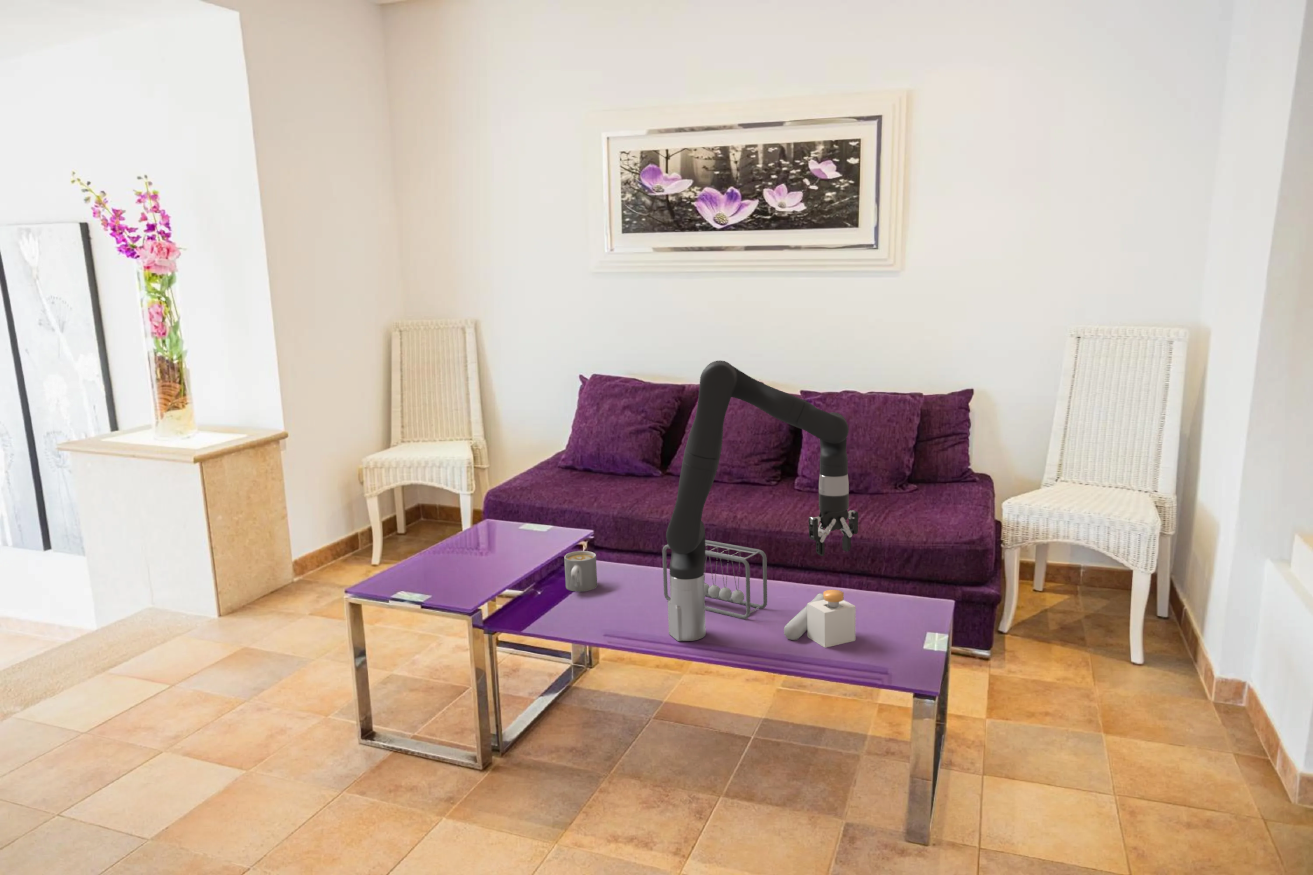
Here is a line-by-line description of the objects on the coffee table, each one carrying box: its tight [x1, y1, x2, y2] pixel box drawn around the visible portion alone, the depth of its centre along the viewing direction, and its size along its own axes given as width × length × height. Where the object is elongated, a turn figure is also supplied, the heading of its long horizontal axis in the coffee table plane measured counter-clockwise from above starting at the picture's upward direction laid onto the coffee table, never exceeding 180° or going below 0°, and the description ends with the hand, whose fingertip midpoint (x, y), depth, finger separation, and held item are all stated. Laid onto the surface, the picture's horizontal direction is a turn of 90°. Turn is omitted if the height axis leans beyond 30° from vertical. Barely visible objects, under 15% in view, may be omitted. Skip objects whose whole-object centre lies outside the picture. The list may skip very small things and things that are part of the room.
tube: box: [783, 593, 824, 641], centre depth 248 cm, size 5×5×25 cm
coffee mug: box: [563, 550, 598, 593], centre depth 283 cm, size 13×10×10 cm
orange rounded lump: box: [822, 589, 845, 608], centre depth 235 cm, size 5×5×4 cm
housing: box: [806, 599, 857, 649], centre depth 237 cm, size 10×8×10 cm
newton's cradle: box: [662, 539, 768, 620], centre depth 264 cm, size 30×10×18 cm, turn 53°
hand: (833, 552), depth 233 cm, fingers open, 7 cm apart
